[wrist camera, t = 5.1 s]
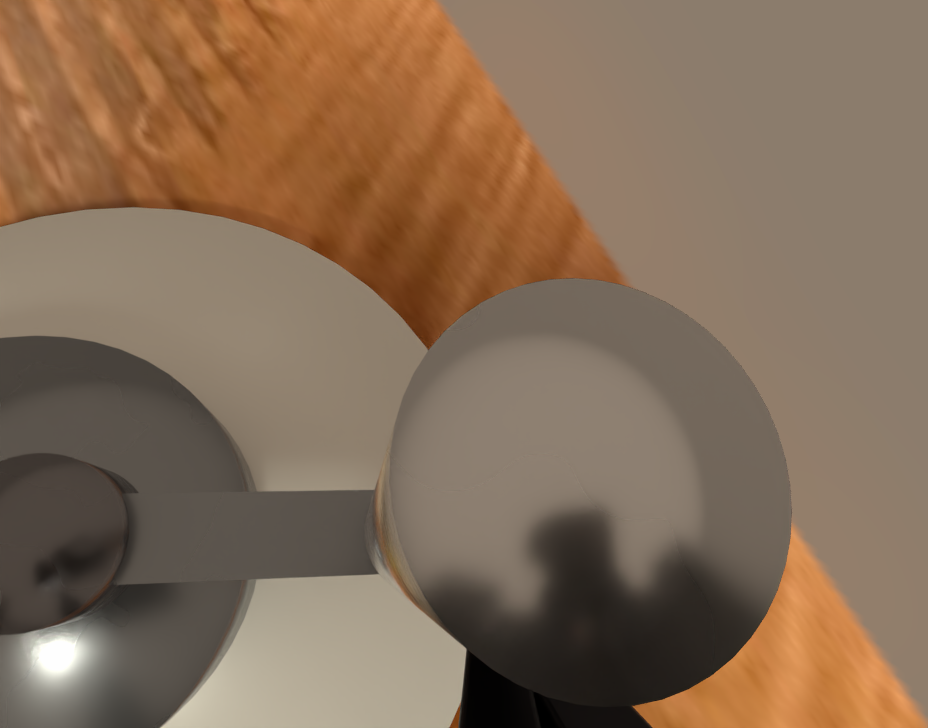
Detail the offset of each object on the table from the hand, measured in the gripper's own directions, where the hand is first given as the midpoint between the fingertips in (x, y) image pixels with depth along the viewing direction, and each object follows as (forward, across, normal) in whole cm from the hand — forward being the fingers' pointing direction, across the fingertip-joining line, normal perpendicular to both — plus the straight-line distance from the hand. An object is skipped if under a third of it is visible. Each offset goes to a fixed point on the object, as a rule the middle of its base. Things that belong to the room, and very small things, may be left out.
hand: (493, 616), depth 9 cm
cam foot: (+6, +8, +3) cm, 10 cm away
